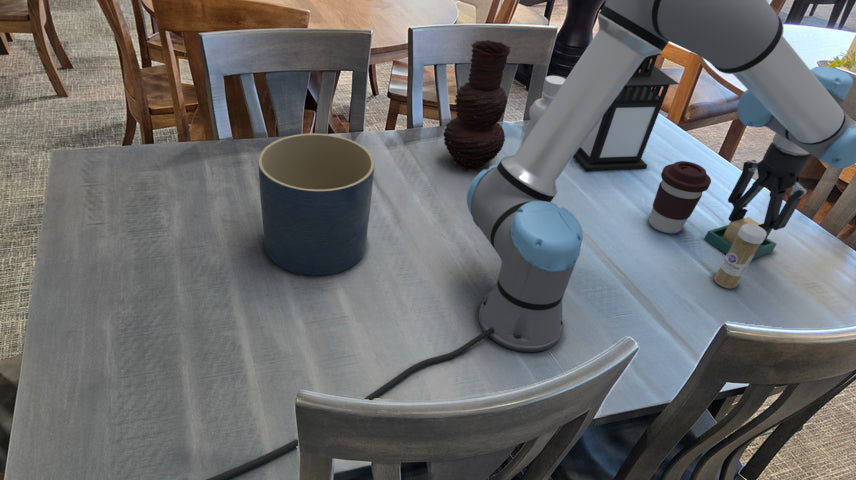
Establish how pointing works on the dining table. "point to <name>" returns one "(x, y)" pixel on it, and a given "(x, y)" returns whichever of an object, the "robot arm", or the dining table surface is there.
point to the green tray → (724, 246)
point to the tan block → (736, 229)
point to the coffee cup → (678, 195)
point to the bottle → (543, 101)
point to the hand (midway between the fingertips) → (739, 241)
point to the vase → (479, 109)
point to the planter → (315, 202)
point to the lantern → (626, 122)
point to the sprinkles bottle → (740, 255)
